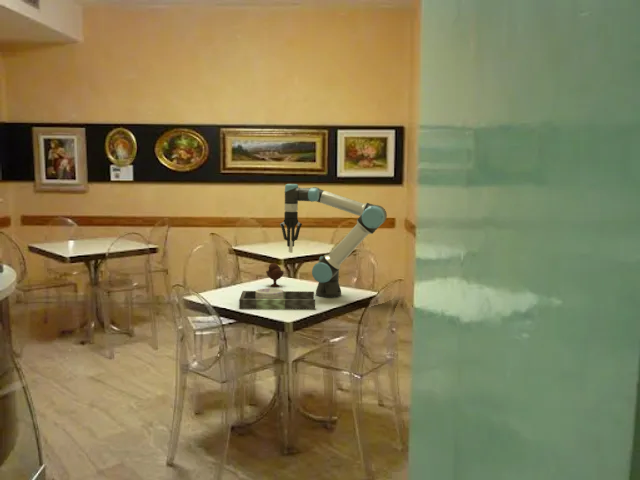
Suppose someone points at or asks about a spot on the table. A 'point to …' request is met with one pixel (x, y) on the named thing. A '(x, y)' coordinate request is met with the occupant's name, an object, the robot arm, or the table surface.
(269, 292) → the paper bowls
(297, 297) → the shallow tray
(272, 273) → the ice cream bowl
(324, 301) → the table surface
